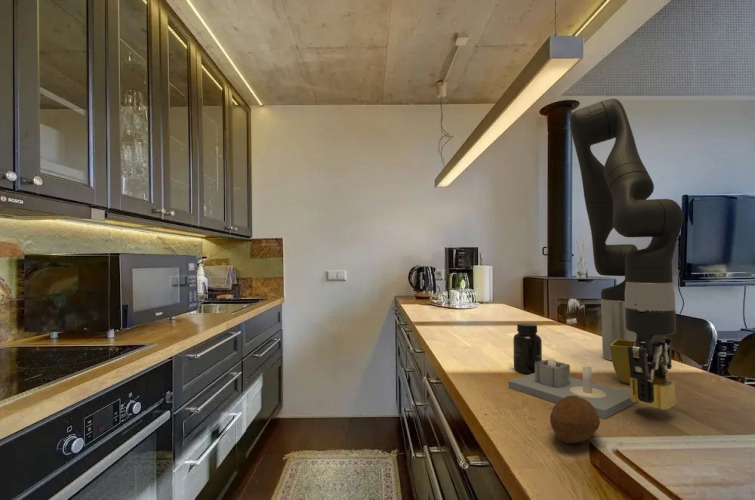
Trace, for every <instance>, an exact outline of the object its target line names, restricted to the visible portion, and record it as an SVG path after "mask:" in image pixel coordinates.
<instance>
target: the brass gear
mask: <svg viewBox="0 0 755 500" xmlns="http://www.w3.org/2000/svg"><path fill="white" fill-rule="evenodd" d="M629 392H630V399H631V400H632V401H633V402H636V403H638V404H640V405H644V406H646V407H647V406H648V407H651V408H654V409H655V408H656V409H660V410H668V409H671V408H673V407H674V406H675V405H676V404H677V400H676V399H677V398H676V394H677V393H676V381H675V380H673V379H668V378H667V377H666V378H661V377H657V376H653V398H654V401H653V402H652V403H646V402H643V401H640V400H639V399H638V388H637V379H635V378H630V384H629Z"/></svg>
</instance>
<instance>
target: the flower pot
mask: <svg viewBox="0 0 755 500" xmlns="http://www.w3.org/2000/svg"><path fill="white" fill-rule="evenodd" d="M634 344H635V341H629V340H619V339H616V340H615V341H614V342H613V343H611V344H610V350H611V356H612V367H613V369H614V371H615V373H616V375H617V378H619V380H620V381H621V383H623V384H629V385H630V378H631V375H630V366H629V356H628V346H629V345H631V346H634ZM648 364H649V363H648ZM635 368H636V366H635ZM648 370H649V369H648ZM641 373H643V370H642V369H641Z"/></svg>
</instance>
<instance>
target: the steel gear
mask: <svg viewBox="0 0 755 500" xmlns="http://www.w3.org/2000/svg"><path fill="white" fill-rule="evenodd" d="M570 366H571V365H570V364H568V363H565V362H561V361H557V360H556V366H549V365H548V359H542V361H538V362H537V363H535V381H536V382H539V383H541V384H544V385H548V386H554V387H556V388H560V387H563V386H566V385H568V384H570V377H571V370H570V369H571V367H570Z"/></svg>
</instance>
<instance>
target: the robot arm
mask: <svg viewBox="0 0 755 500" xmlns="http://www.w3.org/2000/svg"><path fill="white" fill-rule="evenodd" d="M569 125H570V131H571V135H572V136H571V137H572V140H573V144H574V148H575V152H576V157H577V161H578V165H579V169H580V175H581V182H582V188H583V197H584V198H583V199H584V204H585V209H586V214H587V218H588V223H589V228H590V232H591V233H590V234H591V243H592V252H593V254H592V255H593V262H594V267H595V271H596V273H597V274H598V275H600V276H604V277H605V276H606V277H610V276H611V277H624V280H623V281H622V282H620V283H618V284H616V285H613V286H609V287H606V288H603V289H601V292H600V300H601V302H600V304H601V305H600V306H601V307H600V308H601V335H602V336H601V340H602V341H601V343H602V345H601V346H602V357H603V358H604V360H605V359H606V360H608V361H612V356H611V350H610V344H611V343H613V342H614V341H615V340H616V339H619V340H629V341H635V344H634V346H631V345H629V346H628V356H629V366H630V375H631V378H635V379H637V388H638V399H639V400H640V401H643V402H646V403H652V402H653V401H654V398H653V376H657V377H661V378H666V379H667V375H668V374H669V370H671V369H672V367H673V364H672V351H673V350H672V349H673V348H672V347H673V345H672V344H673V339H672V337H667V336H672V335H675V334H676V333H677V318H676V317H677V316H676V314H677V311H676V294H675V289H674V283H673V281H674V280H673V279H674V278H673V262H672V261H673V259H674V258H673V257H674V254H675V250H676V246H677V242H678V240H679V236H680V234H681V230H682V226H683V223H684V222H683V221H684V213H683V210H682V208H681V206H680V205H679V203H678V202H677V201H675V200H673V199H671V198H670V199H669V198H657V199H654V198H652V199H649V198H650V197H651V195H652V194H653V193H654V189H655V185H654V182H653V180H652V177H651V176H650V173H649V172H648V170H647V168H646V166H645V165H644V163H643V161H642V159H641V156H640V154H639V151H638V148H637V145H636V144H637V143H636V140H635V136H634V134H633V131H632V127H631V124H630V122H629V118H628V115H627V112H626V110H625V108H624V105H623V104H622V102H621V101H620V100H619V99H616V98H609V99H605V100H602V101H599V102H596V103H593V104H590V105H587V106H585V107H582V108H578V109H576V110H574V111H572V113H571V114H570V117H569ZM612 139H615V141H614V144H613V146H612V148H611V150H610V152H609V153H608V155H607V156H608V157H607V158H606V160H605V164H603V163H602V162H600V160H598V158H597V157H596V156H595V155H594V153H593V152H592V148H591V146H593V145H596V144H599V143H604V142H607V141H611V140H612ZM613 229H614V230H615V232H616V233H617V234H619V235H620V236H622V237H625V238H651V241H650V243H649V244H648V246H646V247H645V248H641V249H638V247H637V245H635V244H631V243H628V244H627V243H626V244H623V243H622V244H607V240H608V238H609V236H610V234H611V232H612V231H613ZM648 363H649V364H648ZM635 366H636V368H635ZM641 369H642V370H643V373H641ZM648 369H649V370H648Z"/></svg>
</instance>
